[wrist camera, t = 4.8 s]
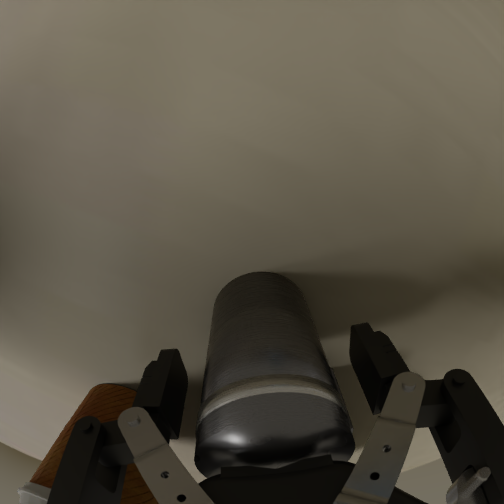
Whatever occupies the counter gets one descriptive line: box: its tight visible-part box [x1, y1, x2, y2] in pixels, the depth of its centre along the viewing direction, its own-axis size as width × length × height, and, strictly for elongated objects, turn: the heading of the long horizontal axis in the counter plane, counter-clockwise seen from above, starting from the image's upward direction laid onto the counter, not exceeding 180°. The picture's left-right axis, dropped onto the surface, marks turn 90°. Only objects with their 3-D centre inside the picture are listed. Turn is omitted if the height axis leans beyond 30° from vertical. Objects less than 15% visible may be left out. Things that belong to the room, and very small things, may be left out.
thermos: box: [194, 272, 355, 478], centre depth 12 cm, size 5×5×9 cm
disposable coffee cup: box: [17, 384, 159, 504], centre depth 13 cm, size 10×10×12 cm
